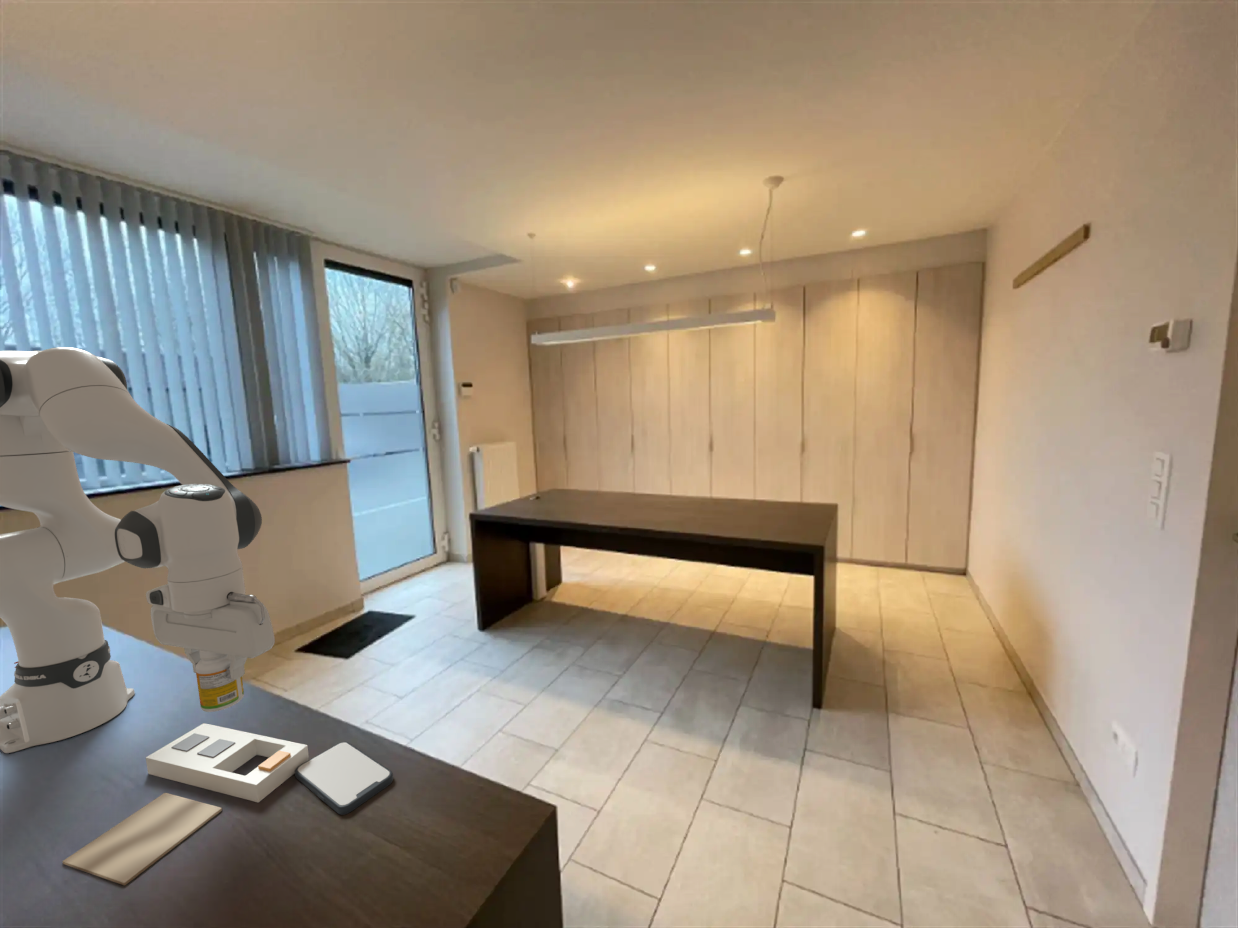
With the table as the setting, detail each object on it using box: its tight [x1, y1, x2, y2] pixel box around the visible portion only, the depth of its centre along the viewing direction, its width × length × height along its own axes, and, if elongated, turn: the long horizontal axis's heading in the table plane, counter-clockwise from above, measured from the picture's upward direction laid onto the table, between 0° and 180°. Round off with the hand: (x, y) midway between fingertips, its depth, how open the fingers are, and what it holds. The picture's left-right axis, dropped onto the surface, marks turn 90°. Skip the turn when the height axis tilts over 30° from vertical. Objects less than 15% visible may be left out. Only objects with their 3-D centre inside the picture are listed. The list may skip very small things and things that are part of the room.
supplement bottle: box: [195, 650, 245, 713], centre depth 77 cm, size 5×5×10 cm
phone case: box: [294, 741, 394, 816], centre depth 80 cm, size 9×2×16 cm
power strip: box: [145, 722, 310, 803], centre depth 83 cm, size 24×9×4 cm, turn 75°
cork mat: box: [62, 792, 223, 886], centre depth 70 cm, size 12×12×1 cm
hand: (219, 674), depth 77 cm, fingers closed on supplement bottle, 5 cm apart
